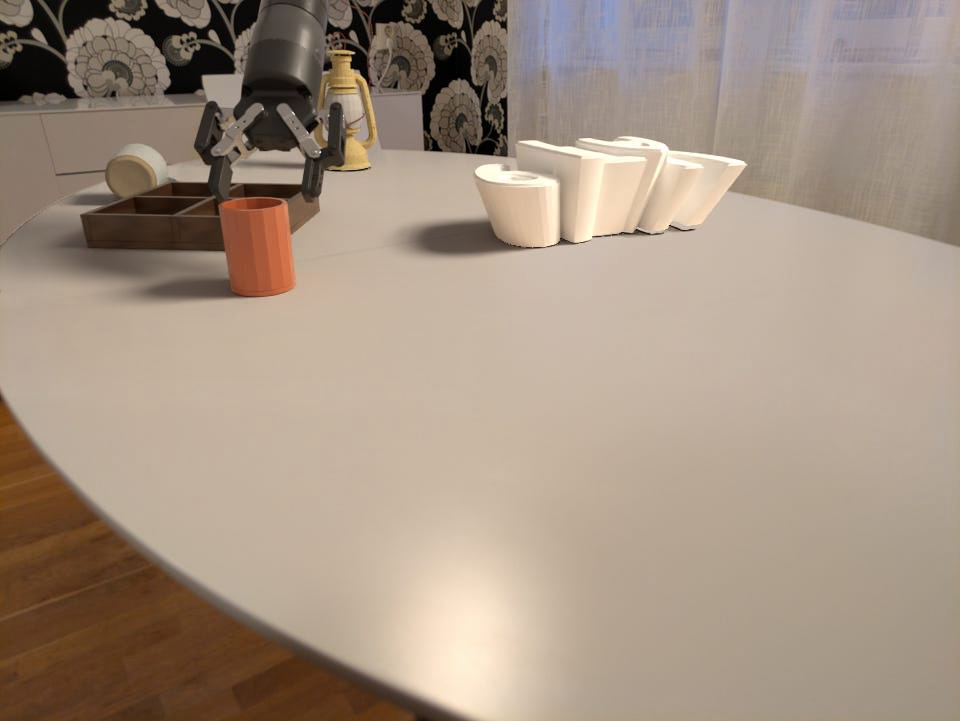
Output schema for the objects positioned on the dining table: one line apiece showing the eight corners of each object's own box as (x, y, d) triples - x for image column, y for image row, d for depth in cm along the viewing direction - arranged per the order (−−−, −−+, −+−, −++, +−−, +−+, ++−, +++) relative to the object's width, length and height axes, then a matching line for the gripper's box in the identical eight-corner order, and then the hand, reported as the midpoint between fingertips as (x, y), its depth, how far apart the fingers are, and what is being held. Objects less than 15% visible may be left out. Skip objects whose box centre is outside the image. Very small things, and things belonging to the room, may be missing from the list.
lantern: (376, 163, 137) (368, -4, 125) (381, 170, 129) (372, -8, 116) (316, 164, 135) (301, -6, 122) (317, 172, 126) (301, -10, 114)
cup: (221, 295, 62) (207, 209, 59) (244, 276, 68) (233, 196, 65) (284, 297, 62) (274, 211, 59) (303, 277, 68) (294, 197, 64)
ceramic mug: (107, 205, 97) (96, 150, 94) (119, 194, 105) (109, 143, 101) (185, 203, 100) (177, 150, 97) (192, 193, 107) (185, 143, 104)
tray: (87, 247, 77) (79, 214, 76) (172, 208, 97) (168, 181, 95) (271, 251, 76) (267, 218, 75) (320, 211, 96) (317, 184, 94)
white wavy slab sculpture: (670, 207, 100) (679, 133, 96) (747, 233, 86) (762, 147, 82) (448, 225, 89) (447, 142, 84) (495, 258, 75) (497, 160, 70)
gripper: (360, 91, 73) (344, 220, 67) (231, 90, 74) (205, 218, 68) (346, 36, 66) (327, 175, 60) (203, 35, 66) (171, 172, 61)
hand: (262, 197), depth 64 cm, fingers open, 8 cm apart
